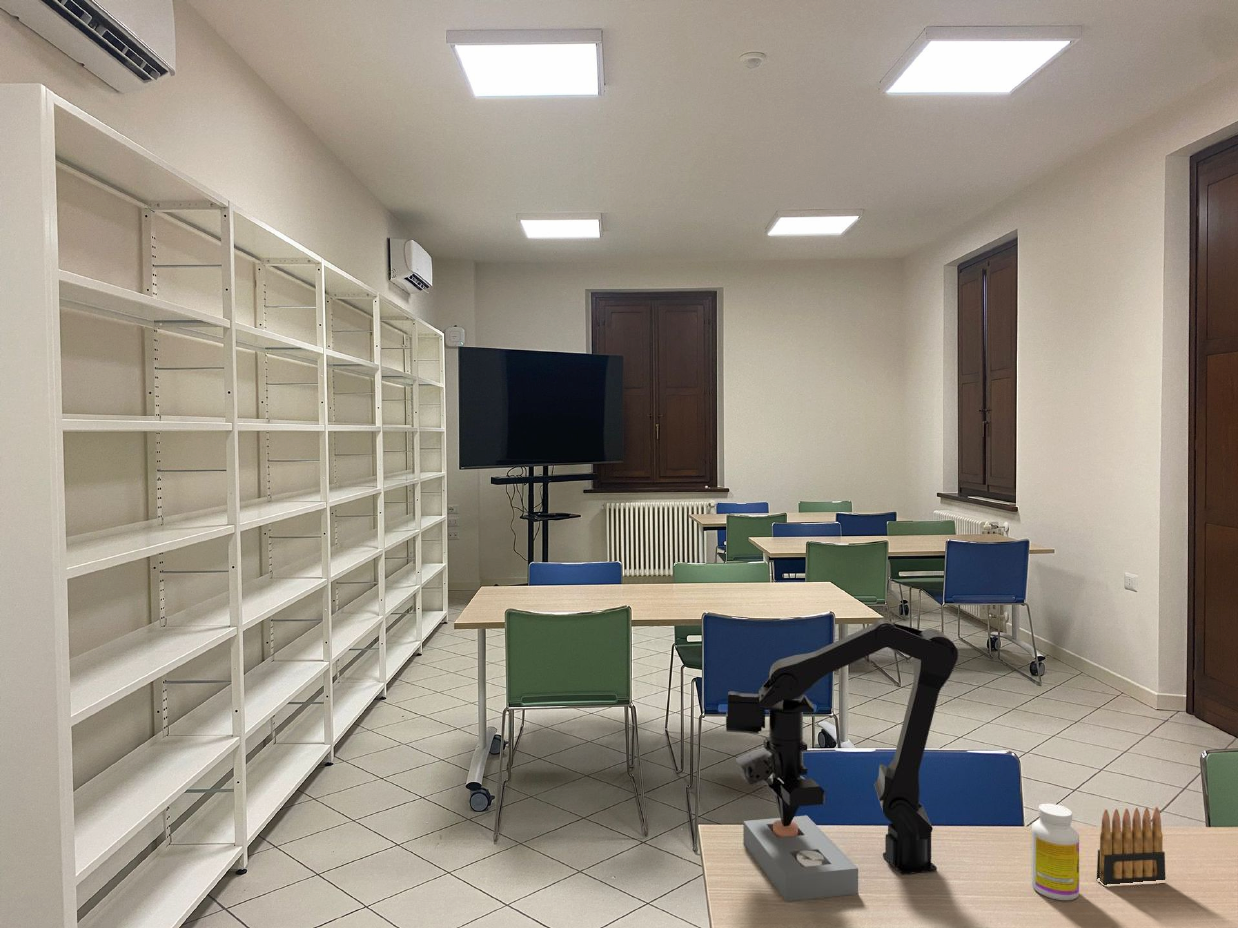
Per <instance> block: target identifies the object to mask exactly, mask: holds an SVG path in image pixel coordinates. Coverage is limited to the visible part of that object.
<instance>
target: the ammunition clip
mask: <svg viewBox="0 0 1238 928" xmlns="http://www.w3.org/2000/svg"><path fill="white" fill-rule="evenodd" d="M1141 819H1142V820H1141ZM1121 820H1122V821H1121ZM1131 821H1132V822H1131ZM1121 822H1122V823H1121ZM1100 830H1101V831H1100V834H1099V849H1097V863H1096V864H1097V865H1096V866H1097V867H1096V880H1097V879H1098V878H1100V881H1101V882H1102V883H1103V884H1104V885H1107V884H1120V883H1133V882H1143V881H1156V880H1165V879H1166V854H1165V851H1164V850H1163V848H1164V847H1163V837H1164V835H1163V832H1162V818H1161V813H1160V809H1159V808H1158V806H1155V808H1154V810H1153V812H1152V818H1151V813H1150V810H1149V808H1148V807H1145V808H1144V810H1143V814H1142V818H1141V813H1140V811H1139V808H1138V807H1135V809H1134V811H1133V814H1132V820H1131V815H1130V812H1129V809H1128V808H1125V809H1124V812H1123V815H1122V819H1121V816H1120V813H1119V809H1118V808H1115V810H1114V811H1113V814H1112V818H1111V819H1110V813H1109V811H1108V809H1106V808H1105V809H1104V811H1103V813H1102V818H1101V827H1100ZM1166 880H1167V879H1166Z"/></svg>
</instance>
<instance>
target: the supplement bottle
mask: <svg viewBox="0 0 1238 928" xmlns="http://www.w3.org/2000/svg"><path fill="white" fill-rule="evenodd" d="M1038 817H1039V819H1037V820H1036V821H1034V822H1033V824H1032V825H1031V862H1030V863H1031V873H1030V874H1031V878H1030V879H1031V885H1032V887H1033V888H1034V890H1035V892H1036V891H1037V893H1039V894H1040V895H1042V896H1044V897H1047V898H1050V899H1053V900H1058V901H1073V900H1076V899H1077V898H1078V896H1079V895H1080V835H1079V833H1078V830H1077V829H1076V828H1075V827H1073V826H1072V822H1073V812H1072V811H1071V809H1069V808H1067V807H1066V806H1063V805H1059V804H1054V803H1042V804H1039V805H1038Z"/></svg>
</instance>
